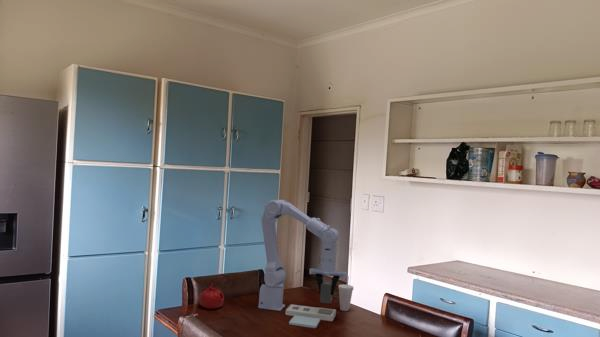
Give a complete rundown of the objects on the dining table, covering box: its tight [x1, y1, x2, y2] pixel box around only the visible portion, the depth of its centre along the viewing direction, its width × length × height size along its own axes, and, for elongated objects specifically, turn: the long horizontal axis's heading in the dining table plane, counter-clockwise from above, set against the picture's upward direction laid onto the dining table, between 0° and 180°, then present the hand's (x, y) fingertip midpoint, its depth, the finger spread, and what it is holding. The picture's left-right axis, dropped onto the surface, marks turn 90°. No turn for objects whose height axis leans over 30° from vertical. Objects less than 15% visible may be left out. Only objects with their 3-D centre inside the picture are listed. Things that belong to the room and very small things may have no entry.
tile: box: [288, 315, 321, 329], centre depth 163 cm, size 10×9×1 cm
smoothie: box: [338, 275, 354, 312], centre depth 183 cm, size 6×6×14 cm
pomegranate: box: [199, 282, 225, 310], centre depth 175 cm, size 10×10×9 cm
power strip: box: [285, 303, 337, 322], centre depth 173 cm, size 18×9×2 cm, turn 77°
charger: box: [319, 280, 333, 304], centre depth 172 cm, size 4×6×7 cm
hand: (326, 294), depth 172 cm, fingers closed on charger, 4 cm apart
